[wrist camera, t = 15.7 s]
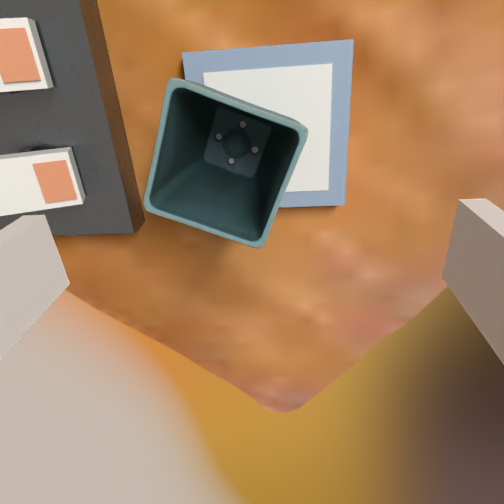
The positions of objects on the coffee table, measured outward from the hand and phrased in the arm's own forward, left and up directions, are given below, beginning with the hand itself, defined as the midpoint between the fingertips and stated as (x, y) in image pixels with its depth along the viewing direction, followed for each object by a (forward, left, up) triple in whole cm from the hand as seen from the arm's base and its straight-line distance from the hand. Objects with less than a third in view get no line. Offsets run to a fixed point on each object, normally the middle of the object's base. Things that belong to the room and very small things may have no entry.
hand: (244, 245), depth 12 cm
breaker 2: (+2, -20, -17) cm, 26 cm away
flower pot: (+1, -3, -21) cm, 21 cm away
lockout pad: (0, 0, -23) cm, 23 cm away
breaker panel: (-2, -20, -23) cm, 30 cm away
